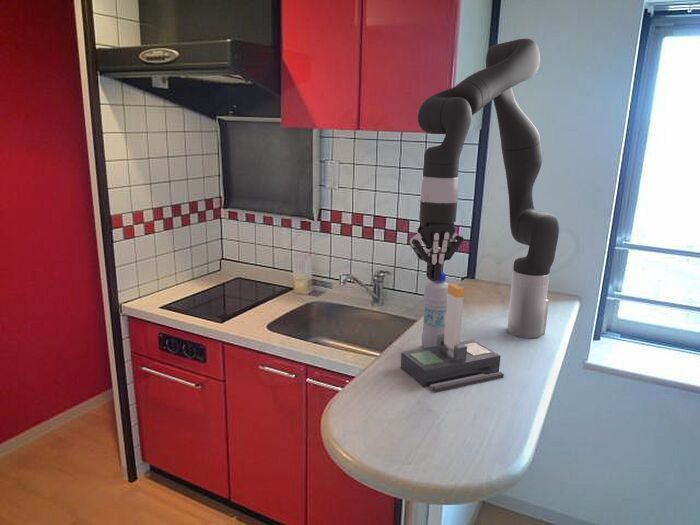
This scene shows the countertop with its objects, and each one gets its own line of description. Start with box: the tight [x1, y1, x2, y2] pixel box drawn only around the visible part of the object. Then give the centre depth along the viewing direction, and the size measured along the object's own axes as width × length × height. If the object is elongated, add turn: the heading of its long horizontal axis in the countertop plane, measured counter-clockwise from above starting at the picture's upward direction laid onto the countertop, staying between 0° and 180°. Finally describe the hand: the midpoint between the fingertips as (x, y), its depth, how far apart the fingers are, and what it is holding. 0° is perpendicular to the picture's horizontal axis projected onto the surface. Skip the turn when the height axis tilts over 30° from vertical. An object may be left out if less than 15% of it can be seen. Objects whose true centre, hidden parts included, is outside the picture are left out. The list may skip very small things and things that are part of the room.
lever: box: [444, 283, 465, 352], centre depth 117 cm, size 2×4×15 cm, turn 24°
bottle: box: [421, 271, 449, 348], centre depth 129 cm, size 7×7×20 cm
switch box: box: [400, 334, 501, 389], centre depth 119 cm, size 20×10×7 cm, turn 115°
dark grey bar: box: [429, 371, 505, 393], centre depth 114 cm, size 18×2×1 cm, turn 114°
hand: (433, 280), depth 112 cm, fingers closed
